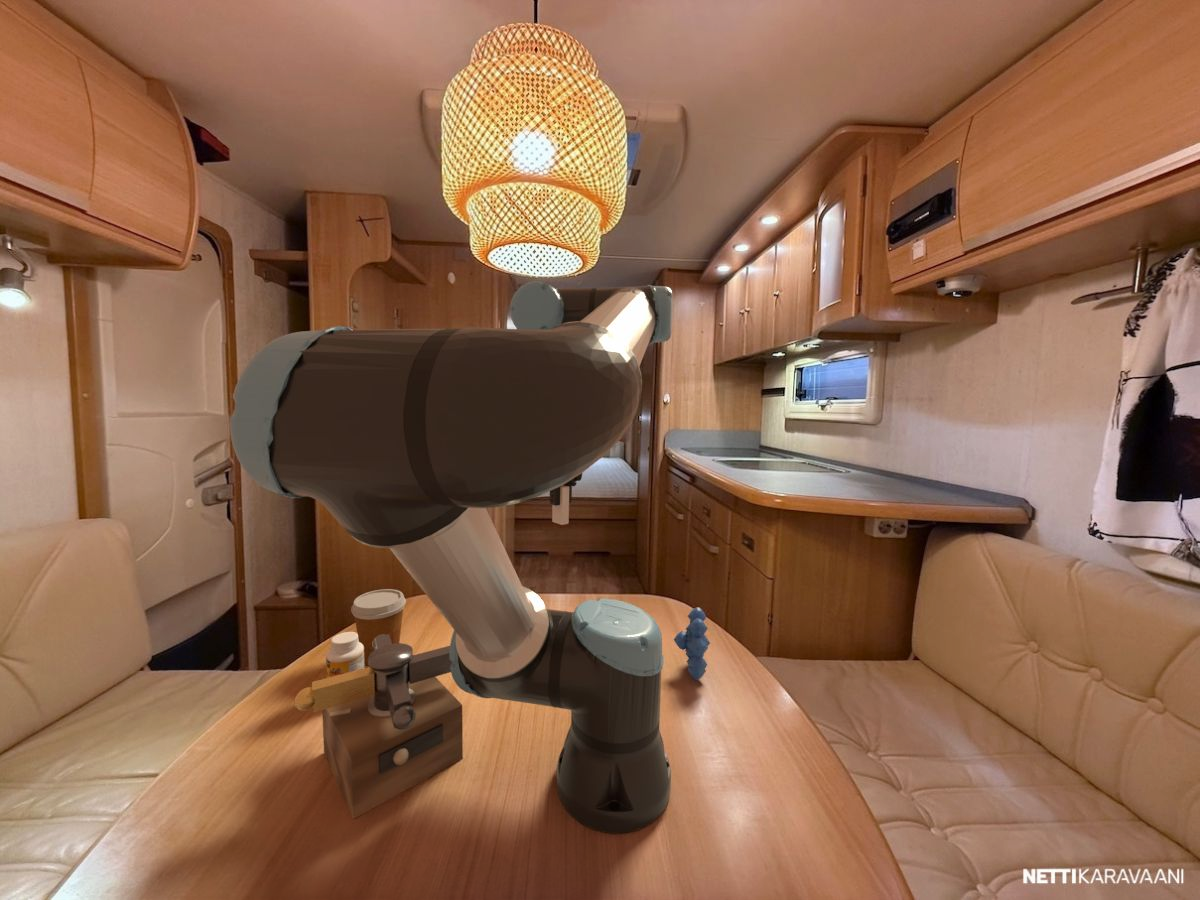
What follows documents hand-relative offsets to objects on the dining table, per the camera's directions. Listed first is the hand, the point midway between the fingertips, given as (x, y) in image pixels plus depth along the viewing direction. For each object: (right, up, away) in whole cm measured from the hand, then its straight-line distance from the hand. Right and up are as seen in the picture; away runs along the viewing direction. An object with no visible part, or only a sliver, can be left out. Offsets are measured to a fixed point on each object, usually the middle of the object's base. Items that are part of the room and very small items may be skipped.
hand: (560, 522), depth 79 cm
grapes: (+24, -30, +7) cm, 39 cm away
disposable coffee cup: (-36, -28, +9) cm, 46 cm away
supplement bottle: (-36, -29, -2) cm, 46 cm away
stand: (-22, -31, -15) cm, 41 cm away
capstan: (-22, -22, -16) cm, 35 cm away
